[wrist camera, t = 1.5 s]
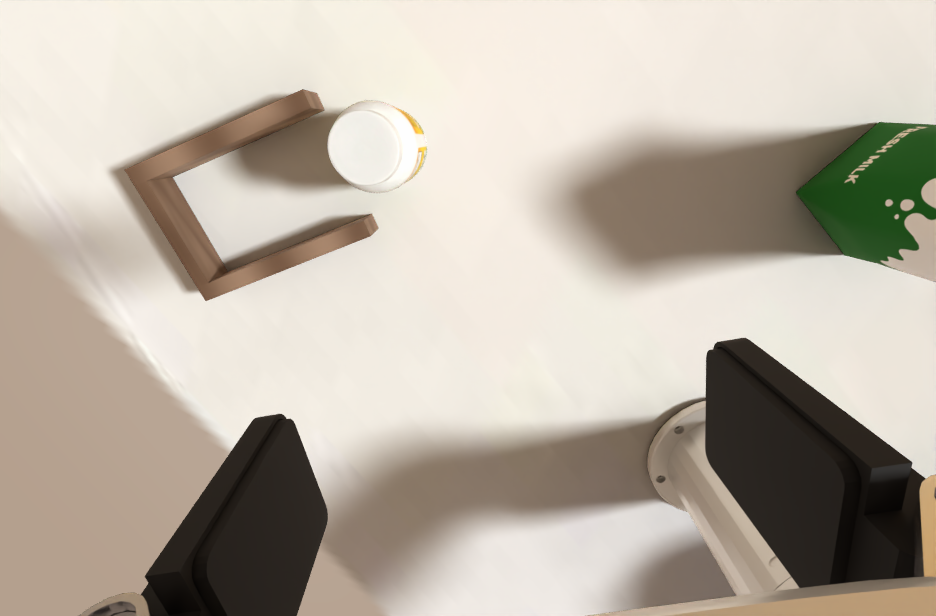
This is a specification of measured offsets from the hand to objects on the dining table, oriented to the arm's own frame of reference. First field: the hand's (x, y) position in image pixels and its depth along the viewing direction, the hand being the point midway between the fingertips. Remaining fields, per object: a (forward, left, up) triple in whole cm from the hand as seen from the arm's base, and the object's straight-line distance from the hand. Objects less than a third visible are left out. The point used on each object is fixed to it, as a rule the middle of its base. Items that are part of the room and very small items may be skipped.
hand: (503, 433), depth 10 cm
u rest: (+15, -8, -28) cm, 32 cm away
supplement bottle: (+4, -8, -28) cm, 29 cm away
